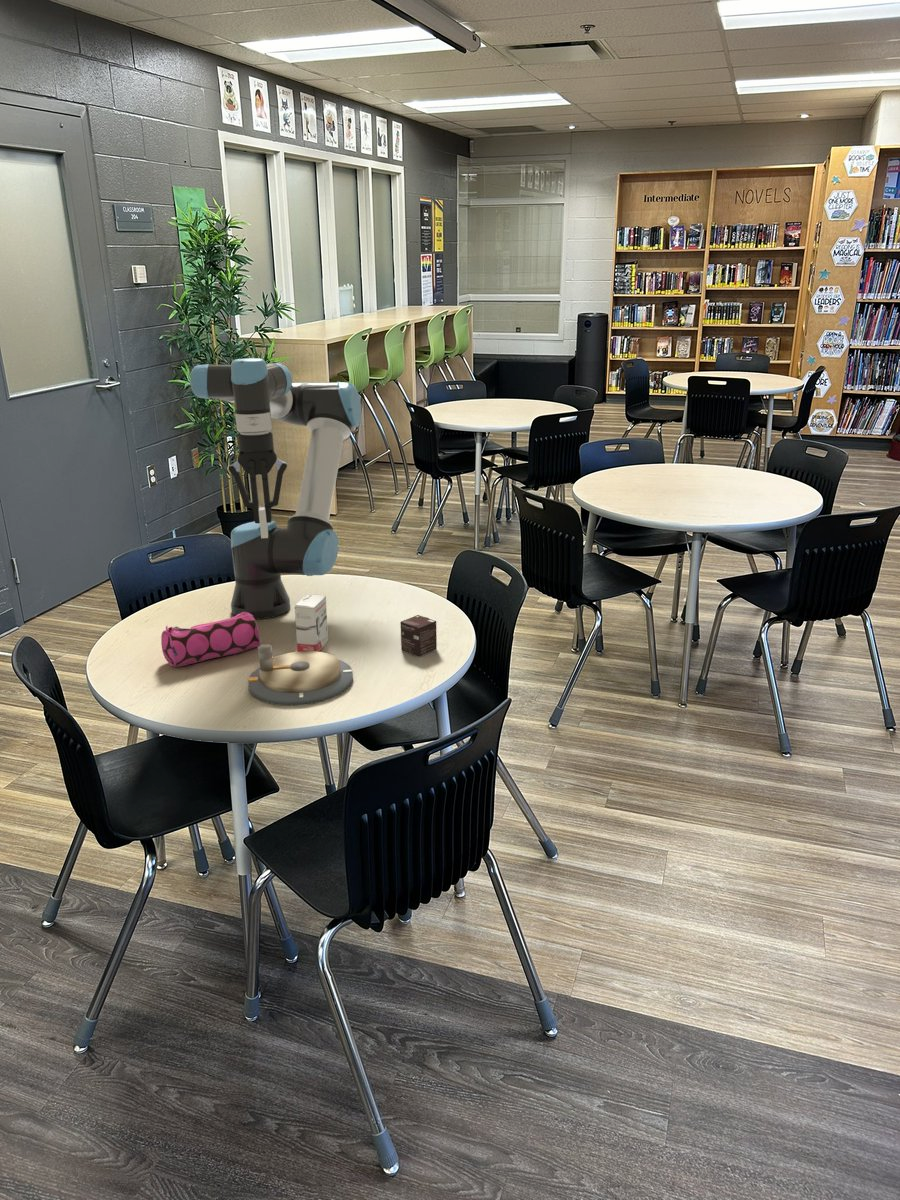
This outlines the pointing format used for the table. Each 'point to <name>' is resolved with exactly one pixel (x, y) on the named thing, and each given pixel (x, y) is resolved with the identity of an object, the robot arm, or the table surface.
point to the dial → (297, 670)
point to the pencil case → (209, 640)
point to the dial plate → (301, 697)
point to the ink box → (311, 623)
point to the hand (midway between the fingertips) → (264, 536)
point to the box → (418, 635)
